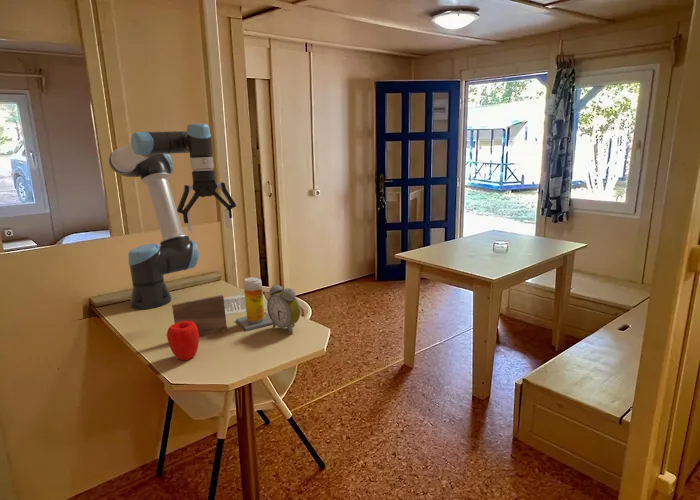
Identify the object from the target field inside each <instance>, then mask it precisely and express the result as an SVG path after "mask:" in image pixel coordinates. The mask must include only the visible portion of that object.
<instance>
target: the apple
mask: <svg viewBox="0 0 700 500" xmlns="http://www.w3.org/2000/svg"><path fill="white" fill-rule="evenodd" d="M166 338H167V343H168V345H169V348H170V350H171V352H172V354H173V355H174V357H175V358H177V359H179V360H181V361H189V360H191V359H192V358H194V357H195V356H196V354H197V352H198V349H199V342H200V336H199V333H198V328H197V326H196V324H195V323H194V322H191V321H182V322H179V323H176V324H175V323H173V324H171V325H170V326H169V327H168V329H167V333H166Z"/></svg>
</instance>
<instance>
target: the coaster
mask: <svg viewBox="0 0 700 500" xmlns="http://www.w3.org/2000/svg"><path fill="white" fill-rule="evenodd" d="M264 314H265V318H264V319H263V321H261V322H257V323H251V322H249V320H247V315H246V316H242V317H238V318H236V322H237V323H238V325H240V326H241V327H242V328H243V329H244V331H245V332H247V331H251V330H256V329H261V328H264V327H268V326H273V322H272V320H271V319H270V317H269V314H268V312H266V311H264Z"/></svg>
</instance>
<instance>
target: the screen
mask: <svg viewBox="0 0 700 500" xmlns="http://www.w3.org/2000/svg"><path fill="white" fill-rule="evenodd" d="M171 307H172V315H173V321H174V323H173V324H176V323H179V322H182V321H191V322H194V323H195V324H196V326H197V328H198V333H199V337H201V336H205V335H209V334H213V333H218V332H222V333H227V332H229V328H228V325H227V318H226V308H225V307H226V306H225V298H224V295H223V294H217V295H214V296H209V297H203V298H199V299H193V300H188V301H184V302H179V303H172V304H171Z"/></svg>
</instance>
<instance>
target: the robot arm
mask: <svg viewBox="0 0 700 500" xmlns="http://www.w3.org/2000/svg"><path fill="white" fill-rule="evenodd" d="M171 154H189V160H190V168H191V170H192V172H191V177H192V185H187V184H185V185H183V193H182V196H181V198H180V199H179V200H180V201H179V203H178V206H176V203H175V200H174V196H173V193H172V189H171V185H170V183H169V180H170V178H171V174H172V173H173V169H174V166H173V160H172V157H171ZM108 164H109V167H110V168H111V170H112V171H113V172H115V173H116V174H117V175H120V176H122V177H127V178H137V177H139V178H140V179H141V182H142V183H143V184H145V185H146V187H147V190H148V193H149V196H150V197H149V198H150V200H151V203H152V208H153V209H154V213H155V217H156V221H157V223H158V226H159V230H160V233H161V237H162V238H161V240H160V242H159V244H158V243H154V242H153V243H147V244H143V245H142V244H141V245H139V246H136V247H134V248H132V249H130V251H129V252H128V257H127V258H128V265H129V271H130V276H131V283H132V290H131V295H130V296H131V297H130V307H131V309H135V310H145V309H147V310H148V309H153V308H154V309H155V308H159V307H162V306H164V305H167V304H168V303H171V302H172V295H171V293H170V290H169V289H168V286H167V285H166V283H165V279H164V278H165V277H164V275H169V274H173V273H177V272H183V271H187V270H190V269H194V268H195V267H196V266H197V264H198V263H199V255H200V254H199V248H198V245H197V243H196V241H194V240H190V238H189V235H188V234H185V232H184V229H183V226H182V224H181V223H182V222H181V218H180V217H179V214H182V217H183V223H184V224H187V232H188V233H190V234H191V233H193V230H192V229H193V228H192V222H191V221H192V220H191V215H190V213H189V212H190V210H191V209H192V207H193V206H194V205H195V203H196V202H197V200H199V198H200V197H201V198H205V197H212V196H213V197H214V198H215V199H216V200H217V201H218V202H219V203H221V204H222V205H223V206H224V208H226V209H224V217H225V225H226V228H228V229H231V221H230V219H232V218H233V213H232V209H233V208H236V207H237V204H236V203H235V201H234V199H233V198H232V196H231V195H230V192H228V190H227V187H226V183H225V182H223V181H221V182H220V183H219V182H218V183H217V182H216V175H215V170H214V168H215V165H214V156H213V146H212V134H211V131H210V126H209V125H208V124H206V123H189V124H187V125H186V131H183V130H180V131H177V130H175V131H145V130H144V131H135V132H133V133H132V134H131V138H130V143H127V145H125V146H124V147H118V148H115V149H114V150H113V151H112V152H111V153H110V155H109V156H108ZM217 189H220V190H221V192H222V193H223V195H224V197H225V198H226V200H227V201H226V200H225V199H224V198H223V197H222V196H221V195H219V193H217V191H216V190H217ZM192 190H193V191H194V193H193V195H192V197H191V198H190V200H189V201H188V202H187V199H188V197H189V193H190V192H191V191H192ZM186 202H187V204H186ZM185 204H186V206H185Z"/></svg>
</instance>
